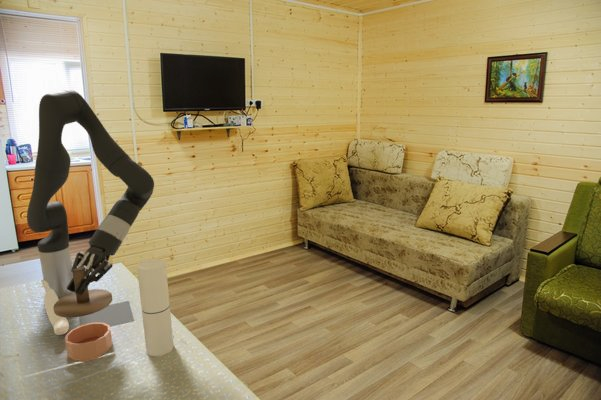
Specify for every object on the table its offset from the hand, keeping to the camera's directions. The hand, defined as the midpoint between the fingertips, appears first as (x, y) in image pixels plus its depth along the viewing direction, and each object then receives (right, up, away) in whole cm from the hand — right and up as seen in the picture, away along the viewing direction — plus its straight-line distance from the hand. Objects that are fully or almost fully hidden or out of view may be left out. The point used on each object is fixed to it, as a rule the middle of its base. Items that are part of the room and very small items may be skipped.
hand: (74, 291), depth 109 cm
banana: (-13, -15, +16) cm, 25 cm away
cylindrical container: (+21, -17, +6) cm, 27 cm away
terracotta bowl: (+1, -17, +6) cm, 18 cm away
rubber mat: (-2, -13, +23) cm, 26 cm away
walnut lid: (+1, -4, +3) cm, 5 cm away
